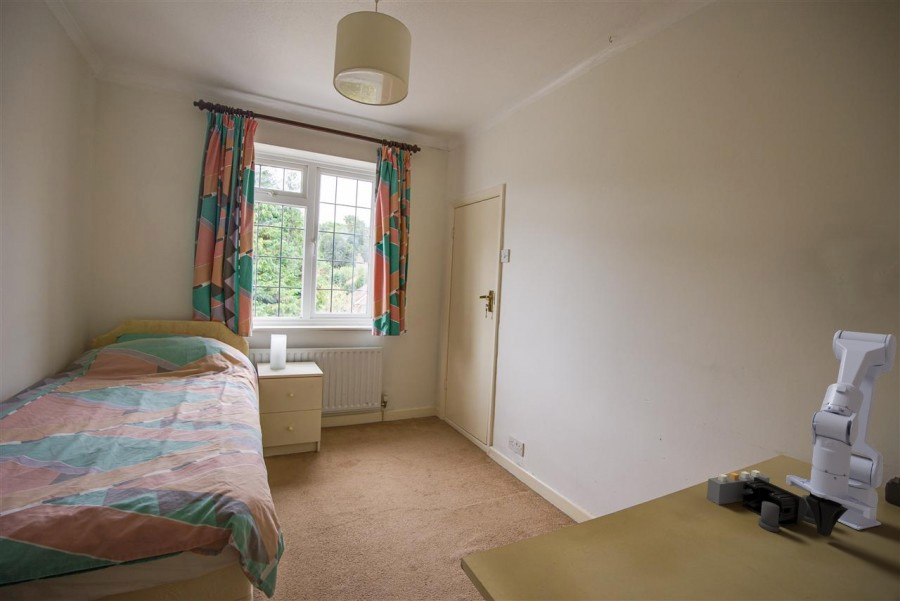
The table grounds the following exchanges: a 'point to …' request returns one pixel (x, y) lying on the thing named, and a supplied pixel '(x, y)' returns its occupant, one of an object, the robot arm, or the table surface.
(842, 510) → the robot arm
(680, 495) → the table surface
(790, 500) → the end cap
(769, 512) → the gray rounded knob
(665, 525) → the table surface
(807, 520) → the dark grey cylinder
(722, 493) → the breaker strip
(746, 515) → the table surface
